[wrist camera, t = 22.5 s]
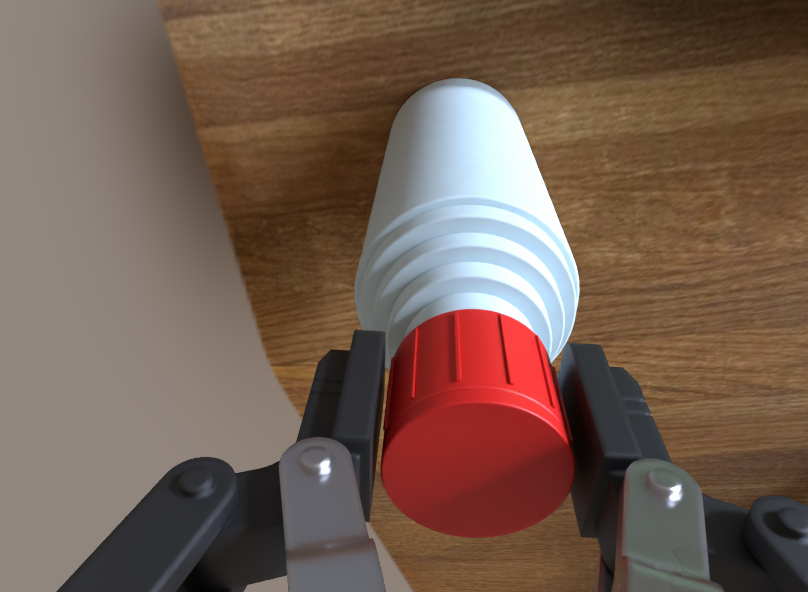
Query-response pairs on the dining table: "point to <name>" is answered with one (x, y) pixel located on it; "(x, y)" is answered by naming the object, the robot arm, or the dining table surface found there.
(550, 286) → the bottle
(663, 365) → the dining table surface
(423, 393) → the cap
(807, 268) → the dining table surface
